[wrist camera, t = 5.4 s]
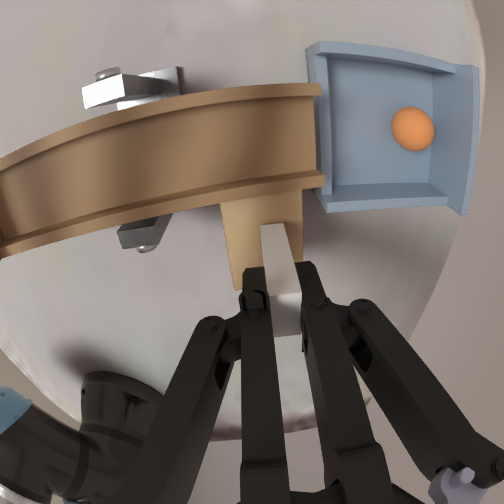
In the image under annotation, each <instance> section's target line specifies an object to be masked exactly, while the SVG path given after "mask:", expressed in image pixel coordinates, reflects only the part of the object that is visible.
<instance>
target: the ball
mask: <svg viewBox="0 0 504 504" xmlns="http://www.w3.org/2000/svg"><path fill="white" fill-rule="evenodd" d="M391 129H392V134H393V136H394V138H395V140H396V141H397V142H398V143H399V144H400V145H401V146H402V147H403V148H405V149H407V150H410V151H421V150H424V149H426V148H427V147H428V146H429V145H430V144H431V143H432V141H433V138H434V125H433V122H432V120H431V118H430V117H429V116H428V115H427V114H426V113H425V112H424V111H423V110H421V109H419V108H416V107H404V108H402V109H400V110H398V111H397V112H396V113H395V115H394V116H393V119H392V123H391Z"/></svg>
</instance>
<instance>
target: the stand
mask: <svg viewBox="0 0 504 504" xmlns="http://www.w3.org/2000/svg"><path fill="white" fill-rule="evenodd" d="M82 92H83V98H84V104H85V109H86V108H91V107H97V106H102V105H108V104H114V103H117V104H118V110H122V109H125V108H129V107H133V106H136V105H140V104H144V103H148V102H152V101H157V100H161V99H166V98H171V97H176V96H181V88H180V80H179V73H178V67H177V66H175V67H170V68H166V69H162V70H157V71H153V72H149V73H146V74H142V75H138V76H136V75H126V74H121V72H120V68H119V67H116V68H110V69H107V70H103V71H101V72H98V73H97V74H96V83H94V84H92V85H89V86H87V87H84V88H82ZM172 215H173V213H170V214H165V215H160V216H156V217H151V218H147V219H143V220H138V221H134V222H130V223H126V224H122V225H121V227H120V228H119V229H118V231H117V234H118V237H119V240H120V243H121V246H122V249H128V248H136V249H137V252H139V253H146V252H150V251H152V250H154V249H155V248H156V247H157V245H159V242H160V240H161V238H162V236H163V234H164V232H165V230H166V227H167V225H168V223H169V221H170V219H171V217H172Z"/></svg>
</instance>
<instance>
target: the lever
mask: <svg viewBox="0 0 504 504" xmlns="http://www.w3.org/2000/svg"><path fill="white" fill-rule="evenodd" d="M314 95H322V89H321V83H289V84H268V85H254V86H243V87H233V88H225V89H217V90H210V91H204V92H197V93H192V94H186V95H181V96H176V97H171V98H166V99H161V100H157V101H152V102H148V103H144V104H140V105H136V106H133V107H129V108H125V109H122V110H118V111H115V112H112V113H108V114H105V115H102V116H99V117H96V118H93V119H90V120H87V121H84V122H81V123H79V124H76V125H73V126H71V127H68V128H65V129H63V130H60V131H58V132H55V133H53V134H51V135H48V136H46V137H44V138H41V139H39V140H37V141H35V142H33V143H30V144H28V145H26V146H24V147H22V148H20V149H18V150H16V151H14V152H12V153H10V154H8V155H6V156H5V157H3V158H1V159H0V260H1V259H2V258H5V257H8V256H11V255H14V254H17V253H20V252H23V251H27V250H30V249H33V248H36V247H40V246H43V245H47V244H50V243H53V242H57V241H60V240H64V239H68V238H71V237H75V236H79V235H82V234H86V233H90V232H94V231H98V230H101V229H105V228H109V227H113V226H117V225H121V224H126V223H130V222H134V221H138V220H143V219H147V218H151V217H156V216H160V215H165V214H170V213H174V212H179V211H184V210H189V209H193V208H198V207H203V206H209V205H214V204H219V203H220V209H221V215H222V221H223V227H224V233H225V239H226V245H227V251H228V257H229V263H230V268H231V274H232V280H233V285H234V288H235V291H236V290H241V289H242V274H243V272H244V270H245V269H246V268H251V267H261V266H264V263H263V253H262V242H261V232H260V225H268V224H278V223H283V224H284V228H285V231H286V235H287V238H288V242H289V246H290V249H291V253H292V257H293V261H294V262H303V213H302V189H309V188H316V187H323V186H325V175H324V174H323V173H321V172H320V171H318V170H316V144H315V123H314V106H313V96H314Z"/></svg>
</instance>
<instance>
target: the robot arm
mask: <svg viewBox="0 0 504 504" xmlns="http://www.w3.org/2000/svg"><path fill="white" fill-rule="evenodd" d="M260 232H261V242H262V253H263V263H264V266H261V267H251V268H246V269H245V270H244V272H243V274H242V293H241V294H240V295H239V304H240V310H241V311H240V312H239V313H238V314H237V315H235V316H234V317H232V318H229V319H226V320H224V319H222V318H221V317H218V316H208V317H205V318H203V319H202V320H200V321H199V322H198V324H197V326H196V328H195V330H194V332H193V334H192V336H191V338H190V340H189V343H188V345H187V347H186V349H185V351H184V353H183V355H182V358H181V360H180V362H179V364H178V366H177V368H176V371H175V373H174V375H173V377H172V379H171V381H170V384H169V386H168V388H167V390H166V392H165V395H164V397H162V396H161V395H160V394H159V393H157V392H156V391H155V390H153V389H152V388H150V387H148V386H146V385H144V384H142V383H140V382H138V381H136V380H133V379H131V378H128V377H125V376H121V375H118V374H113V373H107V372H94V373H90V374H88V375H87V376H86V377H85V378H84V381H83V384H82V387H81V413H82V422H81V426H80V430H79V431H77V430H75V429H73V428H72V427H70V426H68V425H67V424H64V423H63V422H61V421H60V420H58V419H56V418H55V417H53V416H52V415H50V414H48V413H47V412H45V411H44V410H42V409H41V408H39V407H38V406H36V405H35V404H33V403H32V401H31V400H30V399H27V398H25V397H23V396H22V395H20V394H19V393H18V392H16V391H15V390H13V389H12V388H10V387H7V386H1V387H0V504H50V503H51V498H52V495H53V494H55V495H57V496H60V497H62V498H63V502H64V504H187V503H188V500H189V498H190V496H191V492H192V490H193V487H194V484H195V481H196V478H197V475H198V472H199V469H200V466H201V464H202V461H203V457H204V454H205V451H206V449H207V445H208V442H209V440H210V437H211V434H212V431H213V427H214V424H215V421H216V418H217V415H218V412H219V409H220V406H221V403H222V400H223V397H224V394H225V391H226V387H227V384H228V381H229V378H230V375H231V372H232V369H233V365H234V361H236V360H239V359H241V412H242V463H241V467H240V492H241V493H240V494H241V495H240V497H241V501H240V502H238V503H237V504H425V503H423V502H421V501H420V500H418V499H417V498H415V497H414V496H412V495H411V494H409V493H407V492H406V491H404V490H403V489H401V488H400V487H398V486H397V485H395V484H393V483H391V480H390V475H389V471H388V467H387V463H386V459H385V455H384V452H383V449H382V447H381V445H380V444H379V443H377V442H376V441H375V439H374V436H373V433H372V429H371V425H370V421H369V418H368V414H367V411H366V407H365V403H364V400H363V397H362V393H361V390H360V386H359V383H358V380H357V376H356V373H355V370H354V367H355V368H356V370H357V371H358V373H359V374H360V376H361V378H362V379H363V381H364V382H365V384H366V385H367V387H368V389H369V390H370V392H371V393H372V395H373V396H374V398H375V399H376V401H377V403H378V404H379V406H380V408H381V409H382V411H383V412H384V414H385V415H386V417H387V419H388V420H389V422H390V423H391V425H392V427H393V428H394V430H395V432H396V433H397V435H398V437H399V438H400V440H401V441H402V443H403V445H404V446H405V448H406V449H407V451H408V453H409V455H410V456H411V458H412V460H413V461H414V463H415V464H416V466H417V467H418V469H419V470H420V472H422V474H423V475H424V476H425V477H426V478H427V479H428V480H429V481H431V484H430V487H429V490H428V494H429V496H430V497H431V498H432V499H433V501H434V502H435V504H479V502H480V500H481V499H482V497H483V496H484V494H485V492H486V491H487V489H488V488H489V487H491V486H493V485H495V484H497V483H499V482H501V481H502V480H504V450H503V449H501V448H499V447H498V446H496V445H495V444H493V443H492V442H490V441H489V440H487V439H486V438H485V437H483V436H481V435H480V434H479V433H477V432H476V431H475V430H474V429H473V427H472V426H471V424H470V423H469V422H468V420H467V419H466V417H465V416H464V415H463V413H462V412H461V411H460V409H459V408H458V406H457V405H456V404H455V402H454V401H453V400H452V398H451V397H450V396H449V394H448V393H447V392H446V390H445V389H444V388H443V386H442V385H441V384H440V382H439V381H438V380H437V378H436V377H435V376H434V375H433V373H432V372H431V371H430V370H429V368H428V367H427V366H426V364H425V363H424V362H423V361H422V359H421V358H420V357H419V356H418V354H417V353H416V352H415V351H414V350H413V348H412V347H411V346H410V345H409V343H408V342H407V341H406V340H405V339H404V337H403V336H402V335H401V334H400V333H399V331H398V330H397V329H396V328H395V327H394V325H393V324H392V323H391V322H390V321H389V320H388V318H387V317H386V316H385V315H384V314H383V313H382V311H381V310H380V309H379V308H378V307H377V306H376V305H375V304H374V303H373V302H372V301H370V300H367V299H357V300H354V301H353V302H352V303H351V304H350V306H344V305H337V304H335V303H332V302H331V300H330V299H329V298H328V297H326V295H325V292H324V289H323V286H322V283H321V280H320V278H319V275H318V272H317V269H316V267H315V265H314V264H313V263H311V262H310V261H304V262H294V261H293V257H292V253H291V249H290V246H289V242H288V238H287V235H286V231H285V228H284V224H283V223H278V224H268V225H260ZM301 331H302V352H304V355H305V360H306V365H307V370H308V376H309V381H310V386H311V392H312V397H313V403H314V408H315V414H316V420H317V426H318V432H319V438H320V443H321V450H322V456H323V463H324V483H325V489H323V490H321V491H318V492H315V493H308V492H296V491H290V489H289V478H288V467H287V460H286V451H285V440H284V430H283V420H282V411H281V401H280V391H279V382H278V373H277V363H276V354H275V345H274V337H281V336H290V335H298V334H301ZM353 365H354V367H353Z"/></svg>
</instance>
